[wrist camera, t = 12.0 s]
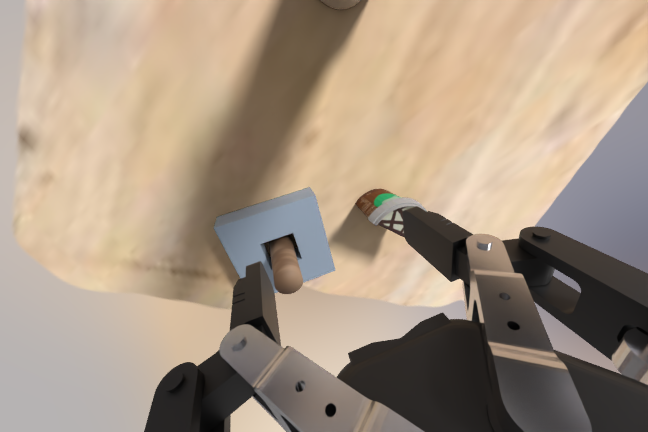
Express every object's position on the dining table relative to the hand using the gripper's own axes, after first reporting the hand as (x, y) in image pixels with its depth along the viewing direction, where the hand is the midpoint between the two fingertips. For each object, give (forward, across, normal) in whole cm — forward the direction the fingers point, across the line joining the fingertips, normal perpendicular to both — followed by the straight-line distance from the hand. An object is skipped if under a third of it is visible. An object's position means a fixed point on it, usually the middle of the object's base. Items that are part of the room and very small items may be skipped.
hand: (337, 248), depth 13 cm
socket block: (+28, +5, +15) cm, 32 cm away
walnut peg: (+28, +5, +15) cm, 32 cm away
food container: (+28, -16, +14) cm, 35 cm away
